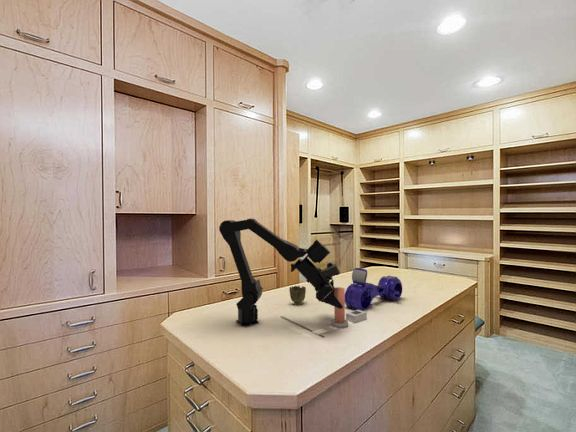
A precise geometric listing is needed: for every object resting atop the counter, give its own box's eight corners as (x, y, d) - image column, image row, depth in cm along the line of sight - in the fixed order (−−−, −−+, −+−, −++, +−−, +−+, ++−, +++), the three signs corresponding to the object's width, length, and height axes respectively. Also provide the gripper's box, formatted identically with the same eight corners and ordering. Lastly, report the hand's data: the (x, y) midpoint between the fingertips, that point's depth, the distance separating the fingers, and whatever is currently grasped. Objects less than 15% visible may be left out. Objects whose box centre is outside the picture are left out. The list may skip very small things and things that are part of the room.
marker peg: (335, 329, 99) (335, 291, 99) (328, 322, 105) (328, 287, 105) (351, 327, 101) (351, 289, 101) (343, 321, 107) (343, 285, 107)
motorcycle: (364, 317, 114) (364, 273, 114) (337, 308, 124) (337, 268, 124) (409, 300, 136) (409, 263, 136) (383, 294, 146) (383, 260, 146)
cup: (286, 306, 127) (286, 288, 127) (293, 301, 133) (293, 284, 133) (301, 308, 123) (301, 290, 123) (308, 304, 130) (308, 286, 130)
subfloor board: (323, 340, 92) (323, 337, 92) (279, 318, 112) (279, 316, 112) (373, 322, 108) (373, 319, 108) (328, 306, 127) (328, 304, 127)
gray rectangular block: (354, 323, 105) (354, 315, 105) (346, 319, 108) (345, 312, 108) (366, 318, 109) (366, 311, 109) (358, 316, 112) (358, 309, 112)
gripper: (326, 260, 94) (360, 295, 93) (326, 253, 113) (355, 282, 111) (301, 283, 95) (335, 319, 94) (306, 272, 114) (334, 301, 112)
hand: (341, 303), depth 103 cm, fingers open, 9 cm apart
